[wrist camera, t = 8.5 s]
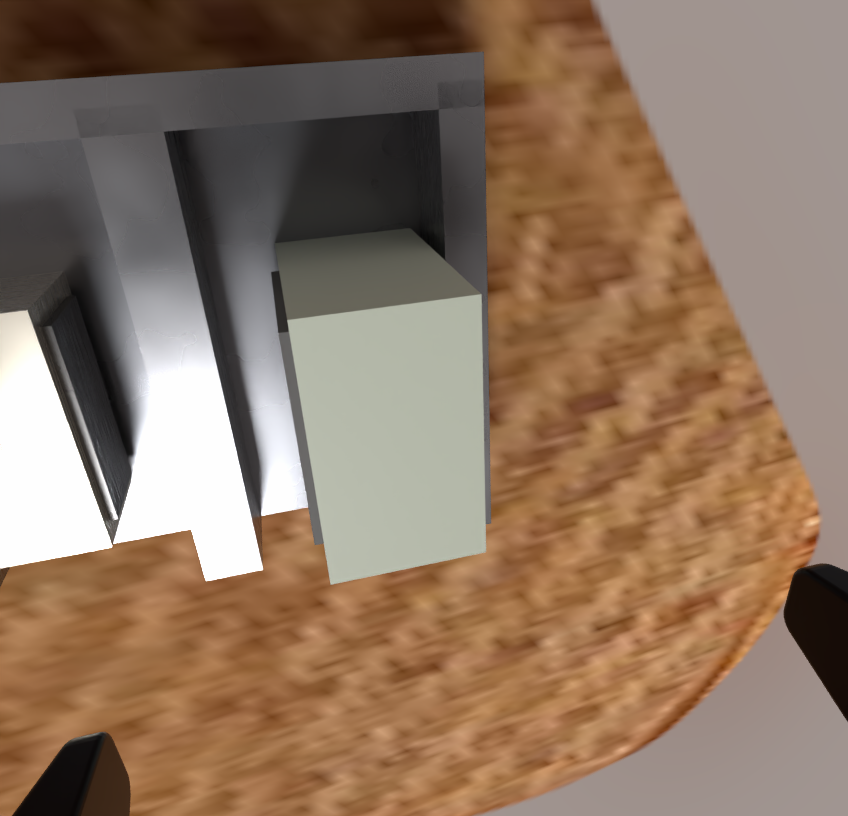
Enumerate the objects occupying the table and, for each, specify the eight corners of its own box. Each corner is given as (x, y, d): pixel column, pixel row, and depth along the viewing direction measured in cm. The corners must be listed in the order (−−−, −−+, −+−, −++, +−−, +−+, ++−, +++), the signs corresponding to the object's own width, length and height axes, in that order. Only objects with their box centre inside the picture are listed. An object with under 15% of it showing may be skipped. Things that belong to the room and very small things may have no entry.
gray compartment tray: (457, 461, 22) (496, 533, 18) (-14, 547, 19) (-72, 650, 16) (439, 56, 16) (491, 50, 13) (-227, 100, 14) (-387, 107, 10)
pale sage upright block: (423, 427, 20) (486, 551, 15) (301, 448, 19) (321, 586, 14) (410, 227, 17) (481, 294, 12) (266, 244, 16) (275, 321, 11)
